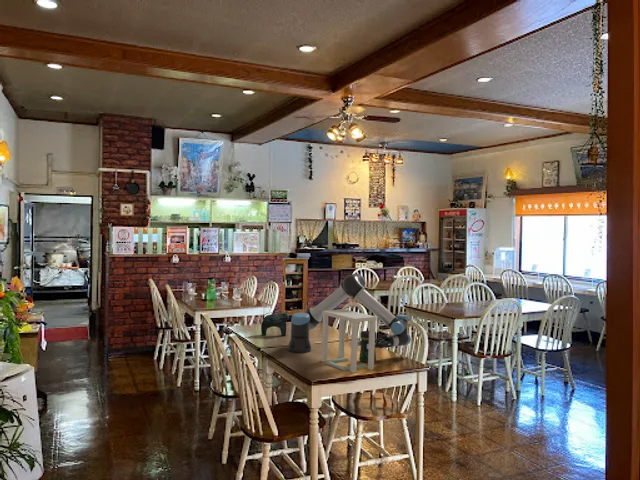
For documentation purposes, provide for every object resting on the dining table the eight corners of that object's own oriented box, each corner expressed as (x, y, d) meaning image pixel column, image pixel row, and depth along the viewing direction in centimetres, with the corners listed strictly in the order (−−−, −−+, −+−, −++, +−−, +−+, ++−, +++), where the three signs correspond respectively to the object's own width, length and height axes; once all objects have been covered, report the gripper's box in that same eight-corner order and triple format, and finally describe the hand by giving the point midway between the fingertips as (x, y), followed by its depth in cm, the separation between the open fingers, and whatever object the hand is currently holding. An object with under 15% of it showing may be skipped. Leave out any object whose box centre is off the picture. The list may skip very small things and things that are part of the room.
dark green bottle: (363, 363, 302) (364, 332, 302) (357, 360, 310) (358, 329, 309) (377, 362, 306) (379, 331, 306) (371, 359, 313) (372, 329, 313)
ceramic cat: (288, 335, 378) (289, 307, 377) (287, 336, 371) (288, 309, 371) (261, 334, 377) (262, 307, 377) (260, 336, 371) (261, 308, 370)
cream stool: (351, 373, 281) (353, 319, 280) (319, 361, 305) (320, 310, 304) (374, 369, 291) (376, 316, 290) (341, 357, 315) (343, 309, 315)
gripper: (401, 350, 310) (374, 355, 296) (378, 343, 327) (350, 347, 313) (402, 338, 310) (374, 342, 296) (378, 332, 327) (351, 335, 313)
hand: (362, 345), depth 305 cm, fingers closed on dark green bottle, 8 cm apart
